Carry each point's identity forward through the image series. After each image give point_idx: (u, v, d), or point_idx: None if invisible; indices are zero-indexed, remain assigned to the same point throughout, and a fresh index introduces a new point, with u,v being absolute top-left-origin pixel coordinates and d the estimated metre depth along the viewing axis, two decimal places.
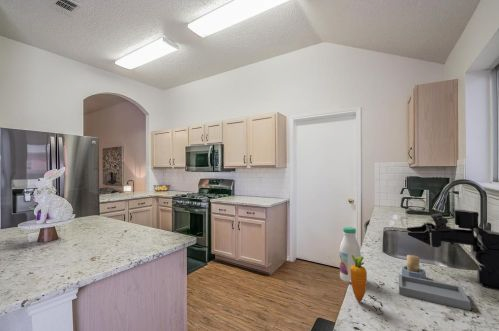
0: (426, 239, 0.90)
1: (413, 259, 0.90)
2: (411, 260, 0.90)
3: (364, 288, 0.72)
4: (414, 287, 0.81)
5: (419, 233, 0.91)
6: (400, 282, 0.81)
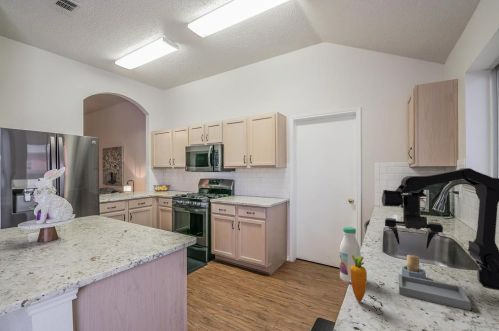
0: None
1: (413, 259, 0.90)
2: (411, 260, 0.90)
3: (364, 288, 0.72)
4: (414, 287, 0.81)
5: None
6: (400, 282, 0.81)
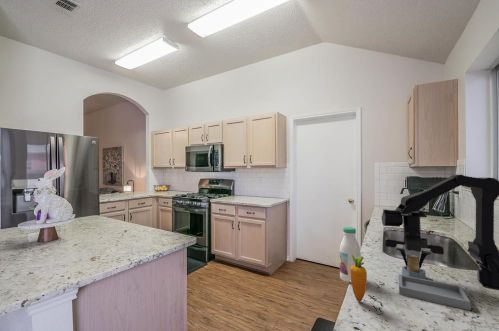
0: None
1: (413, 259, 0.90)
2: (411, 260, 0.90)
3: (364, 288, 0.72)
4: (414, 287, 0.81)
5: None
6: (400, 282, 0.81)
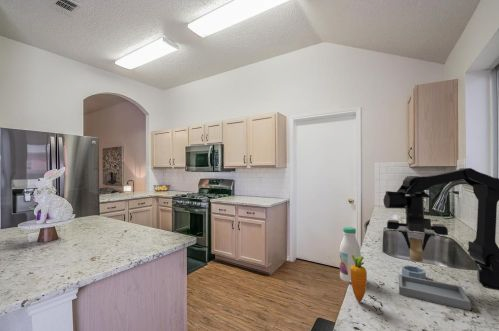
0: None
1: (416, 241, 0.87)
2: (414, 242, 0.87)
3: (364, 288, 0.72)
4: (414, 287, 0.81)
5: None
6: (400, 282, 0.81)
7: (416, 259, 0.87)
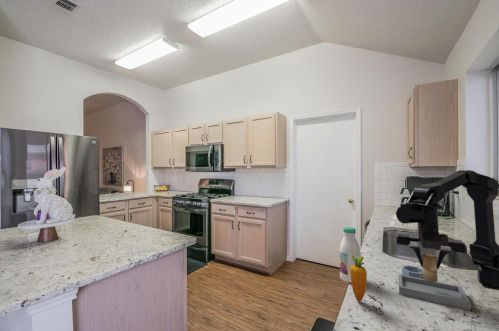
0: None
1: (430, 259, 0.77)
2: (427, 260, 0.78)
3: (364, 288, 0.72)
4: (414, 287, 0.81)
5: None
6: (400, 282, 0.81)
7: (430, 279, 0.77)
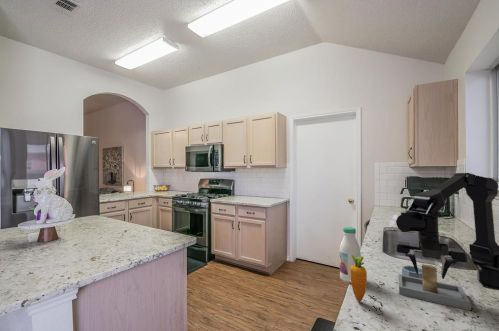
0: None
1: (429, 270, 0.77)
2: (427, 271, 0.78)
3: (364, 288, 0.72)
4: (414, 287, 0.81)
5: None
6: (400, 282, 0.81)
7: (430, 291, 0.77)
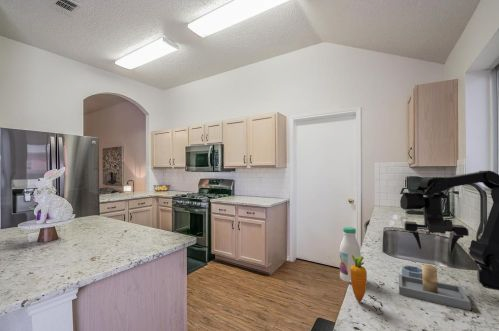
0: None
1: (430, 270, 0.77)
2: (428, 271, 0.77)
3: (364, 288, 0.72)
4: (414, 287, 0.81)
5: None
6: (400, 282, 0.81)
7: (430, 291, 0.77)
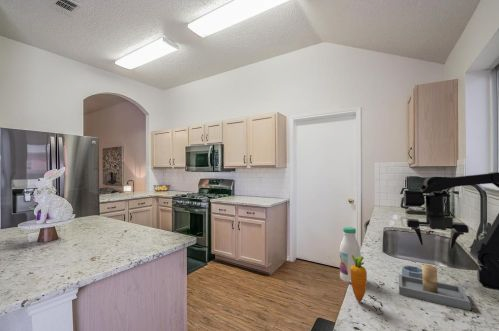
0: None
1: (430, 270, 0.77)
2: (428, 271, 0.77)
3: (364, 288, 0.72)
4: (414, 287, 0.81)
5: None
6: (400, 282, 0.81)
7: (430, 291, 0.77)
